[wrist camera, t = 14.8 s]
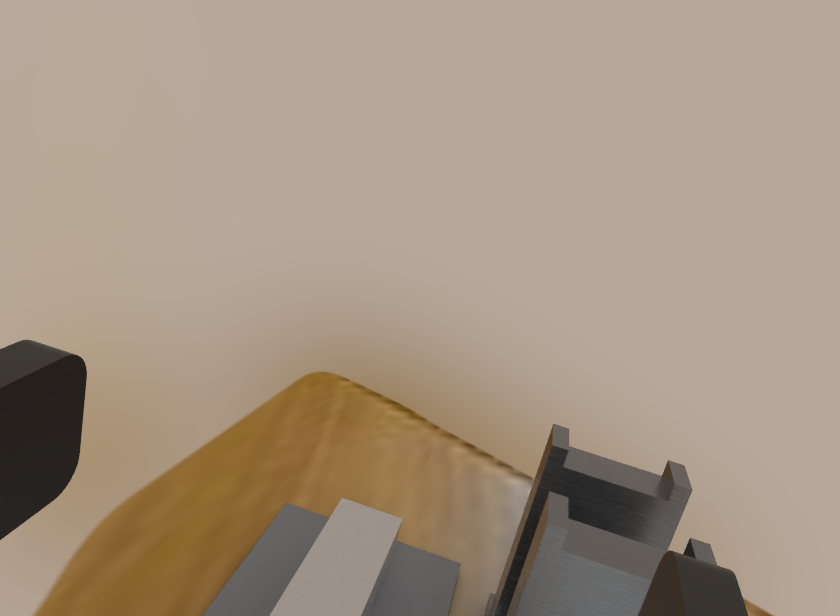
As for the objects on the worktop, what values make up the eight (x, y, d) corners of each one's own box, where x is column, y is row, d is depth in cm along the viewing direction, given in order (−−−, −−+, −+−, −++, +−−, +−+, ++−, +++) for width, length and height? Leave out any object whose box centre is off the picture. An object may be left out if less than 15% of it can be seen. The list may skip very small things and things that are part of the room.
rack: (623, 835, 29) (732, 596, 26) (457, 771, 30) (541, 532, 27) (609, 648, 40) (685, 460, 36) (486, 604, 41) (549, 416, 37)
